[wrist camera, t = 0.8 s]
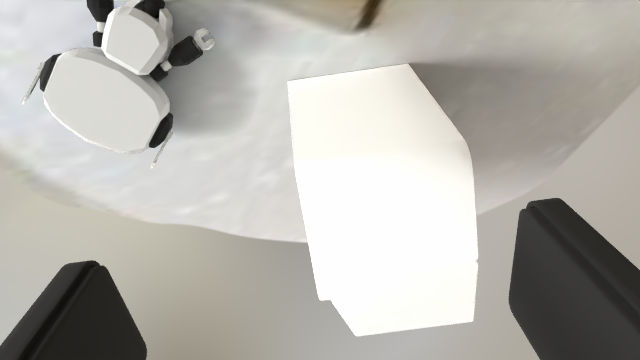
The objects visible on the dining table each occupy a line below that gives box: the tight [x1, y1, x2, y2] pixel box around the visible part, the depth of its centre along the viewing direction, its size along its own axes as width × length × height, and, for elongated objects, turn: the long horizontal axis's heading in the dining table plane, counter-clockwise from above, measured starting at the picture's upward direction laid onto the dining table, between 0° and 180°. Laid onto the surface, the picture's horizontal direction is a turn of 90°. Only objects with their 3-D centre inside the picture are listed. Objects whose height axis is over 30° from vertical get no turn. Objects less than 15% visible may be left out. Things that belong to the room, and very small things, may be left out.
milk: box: [287, 64, 478, 336], centre depth 31 cm, size 12×12×26 cm
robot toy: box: [22, 0, 215, 169], centre depth 37 cm, size 12×4×15 cm
